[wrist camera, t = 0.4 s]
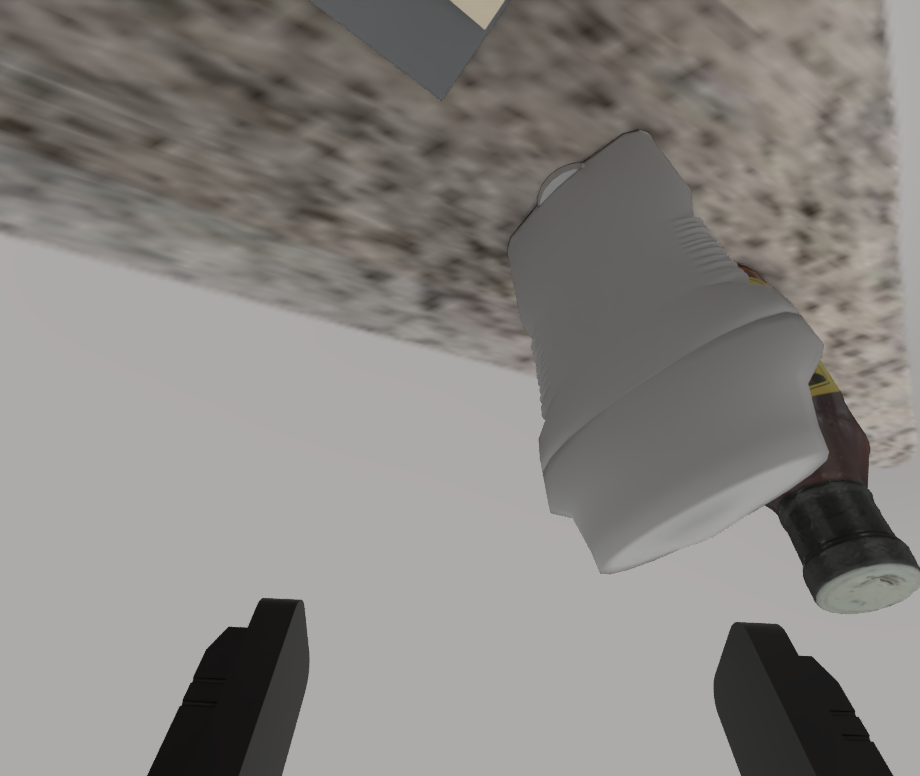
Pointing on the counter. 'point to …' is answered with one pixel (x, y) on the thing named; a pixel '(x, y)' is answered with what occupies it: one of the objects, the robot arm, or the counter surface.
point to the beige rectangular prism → (479, 10)
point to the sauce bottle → (843, 516)
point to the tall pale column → (656, 361)
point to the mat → (415, 35)
